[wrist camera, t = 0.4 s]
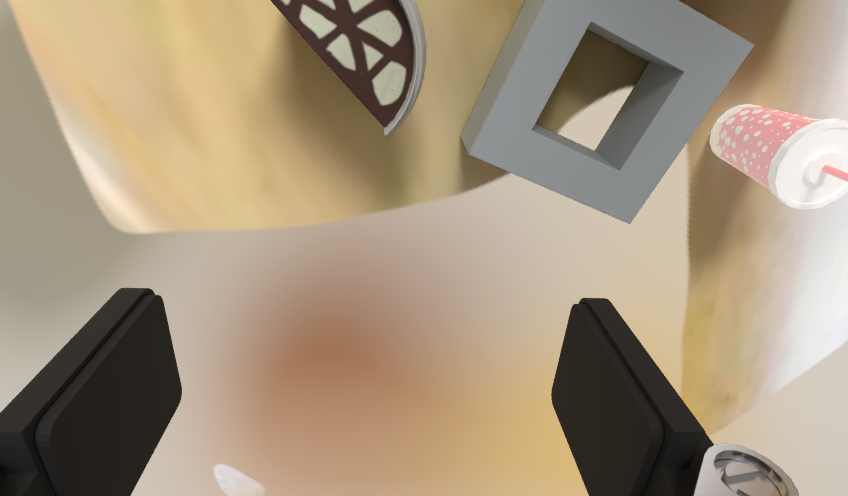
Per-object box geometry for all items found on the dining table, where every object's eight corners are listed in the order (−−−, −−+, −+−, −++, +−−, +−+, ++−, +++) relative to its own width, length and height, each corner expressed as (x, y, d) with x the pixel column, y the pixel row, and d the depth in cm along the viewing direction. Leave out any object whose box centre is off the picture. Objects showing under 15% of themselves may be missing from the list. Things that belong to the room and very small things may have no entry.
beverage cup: (787, 134, 40) (962, 198, 28) (719, 182, 42) (856, 262, 29) (757, 77, 38) (934, 118, 25) (687, 130, 39) (820, 193, 27)
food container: (454, 51, 36) (473, 71, 27) (392, 107, 37) (391, 143, 28) (334, -106, 31) (310, -145, 22) (269, -34, 32) (222, -44, 24)
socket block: (551, -53, 33) (575, -60, 28) (710, 38, 36) (754, 44, 31) (460, 135, 38) (468, 154, 34) (605, 199, 42) (629, 223, 37)
